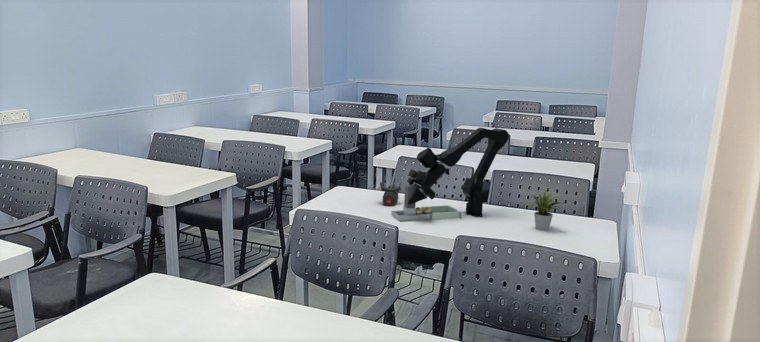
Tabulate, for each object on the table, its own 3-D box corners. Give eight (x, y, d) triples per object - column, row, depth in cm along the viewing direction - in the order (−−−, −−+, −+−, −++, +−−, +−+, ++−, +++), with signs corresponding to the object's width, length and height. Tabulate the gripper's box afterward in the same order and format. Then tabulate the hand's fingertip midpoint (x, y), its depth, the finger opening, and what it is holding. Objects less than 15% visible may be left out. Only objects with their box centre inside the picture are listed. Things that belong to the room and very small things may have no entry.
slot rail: (448, 212, 236) (448, 206, 236) (460, 219, 225) (461, 213, 225) (390, 215, 228) (390, 210, 228) (400, 223, 217) (400, 217, 216)
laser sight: (402, 197, 263) (403, 177, 261) (399, 208, 241) (400, 186, 239) (382, 196, 264) (383, 176, 262) (377, 207, 242) (378, 185, 240)
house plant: (533, 235, 206) (537, 193, 203) (515, 225, 219) (518, 185, 216) (566, 233, 210) (570, 192, 207) (546, 223, 223) (549, 184, 220)
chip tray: (448, 210, 236) (448, 205, 236) (460, 218, 225) (461, 212, 225) (421, 212, 232) (421, 206, 232) (432, 219, 221) (432, 213, 221)
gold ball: (427, 216, 229) (431, 207, 229) (431, 218, 225) (435, 209, 225) (419, 212, 228) (423, 204, 227) (423, 215, 224) (427, 206, 224)
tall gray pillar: (411, 215, 227) (413, 184, 224) (415, 217, 223) (417, 186, 221) (402, 215, 225) (404, 185, 223) (406, 218, 222) (408, 187, 219)
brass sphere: (419, 215, 228) (421, 206, 227) (423, 218, 224) (425, 209, 224) (411, 214, 227) (413, 205, 226) (414, 217, 223) (416, 208, 222)
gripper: (412, 158, 230) (386, 185, 229) (429, 166, 213) (402, 195, 211) (428, 176, 234) (403, 202, 233) (446, 185, 216) (420, 213, 215)
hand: (407, 202), depth 223 cm, fingers closed on tall gray pillar, 4 cm apart
